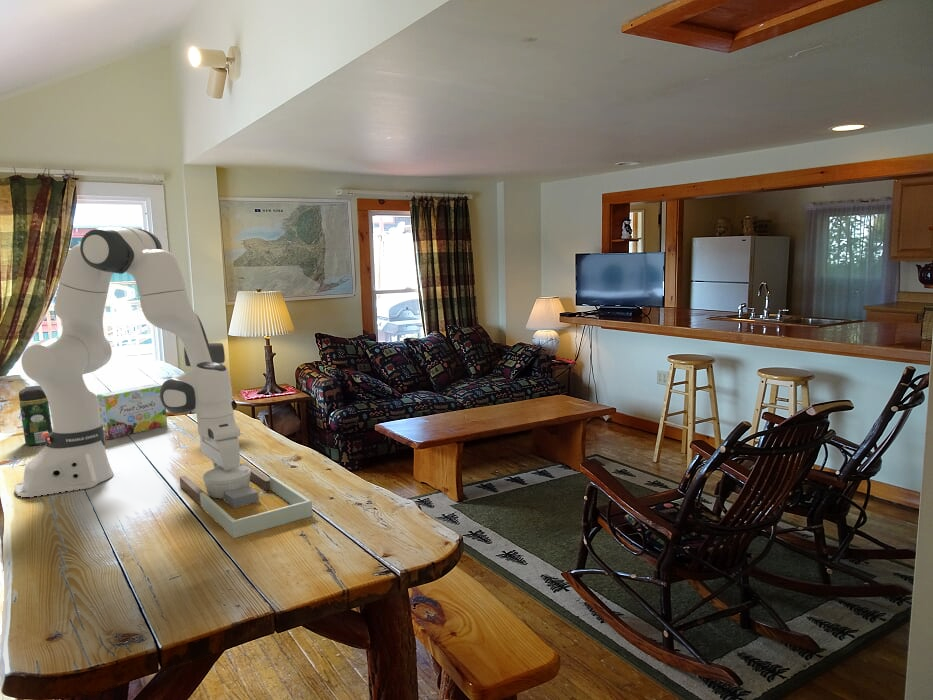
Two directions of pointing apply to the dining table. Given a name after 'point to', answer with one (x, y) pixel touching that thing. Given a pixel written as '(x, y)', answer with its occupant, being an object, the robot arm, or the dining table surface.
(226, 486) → the ramekin
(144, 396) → the snack box
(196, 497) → the runway rails
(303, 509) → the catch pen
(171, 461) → the dining table surface
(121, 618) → the dining table surface
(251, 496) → the slate tile
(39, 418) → the coffee jar
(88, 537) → the dining table surface
